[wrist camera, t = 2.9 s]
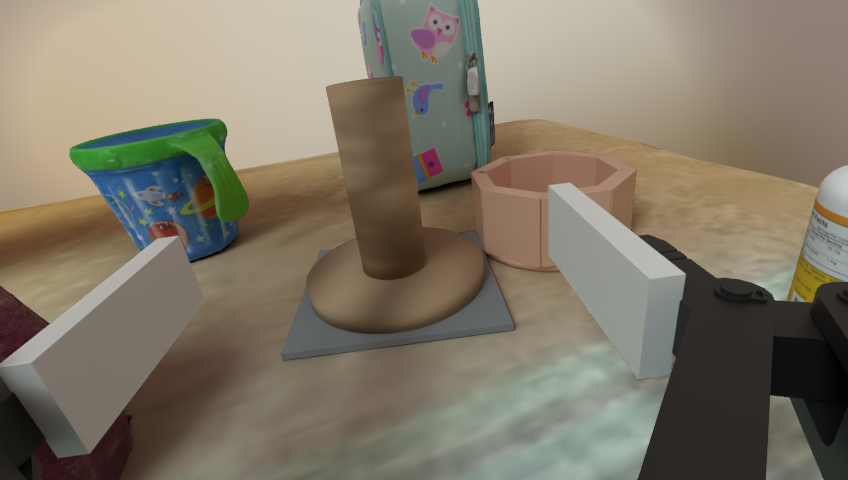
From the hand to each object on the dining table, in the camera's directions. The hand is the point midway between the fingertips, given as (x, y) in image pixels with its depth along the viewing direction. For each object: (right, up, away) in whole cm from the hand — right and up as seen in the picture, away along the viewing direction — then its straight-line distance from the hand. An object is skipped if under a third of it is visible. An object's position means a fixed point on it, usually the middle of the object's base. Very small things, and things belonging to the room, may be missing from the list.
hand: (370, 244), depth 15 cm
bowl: (+11, 0, +16) cm, 19 cm away
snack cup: (-18, -1, +22) cm, 29 cm away
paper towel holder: (0, -2, +12) cm, 12 cm away
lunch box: (+2, +9, +37) cm, 38 cm away
